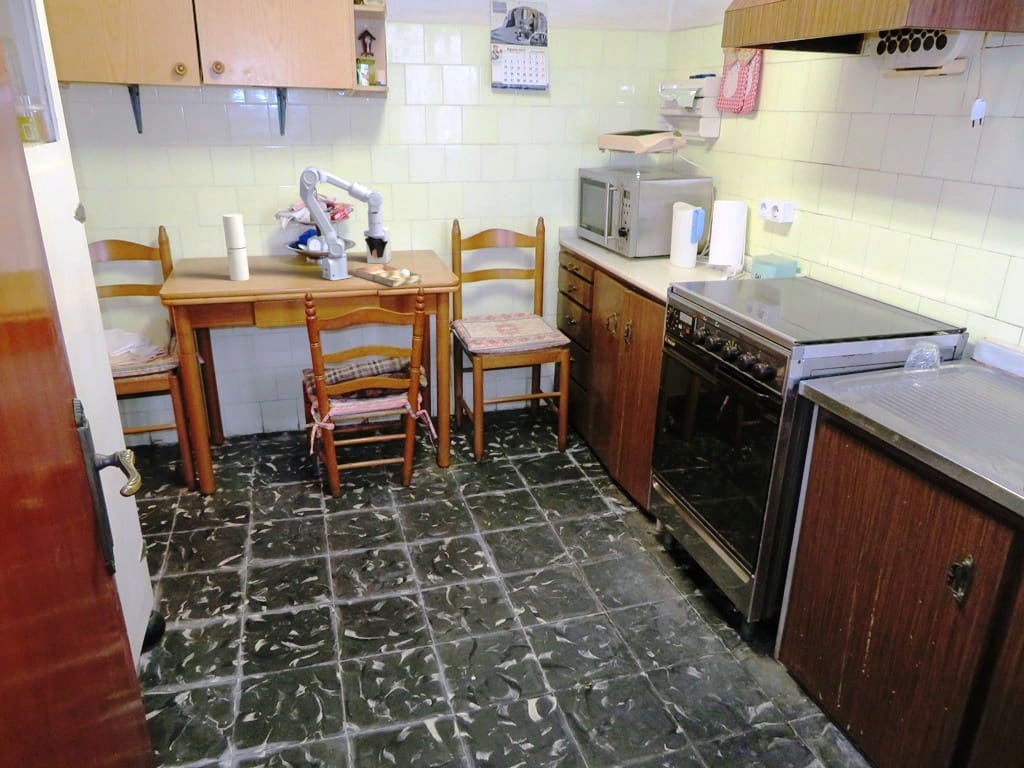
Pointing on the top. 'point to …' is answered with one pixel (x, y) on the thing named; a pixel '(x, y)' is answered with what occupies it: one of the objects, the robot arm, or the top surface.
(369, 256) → the supplement box
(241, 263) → the cylindrical container
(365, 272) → the peach open box
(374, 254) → the terracotta ball
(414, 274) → the box
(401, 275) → the cream ball
